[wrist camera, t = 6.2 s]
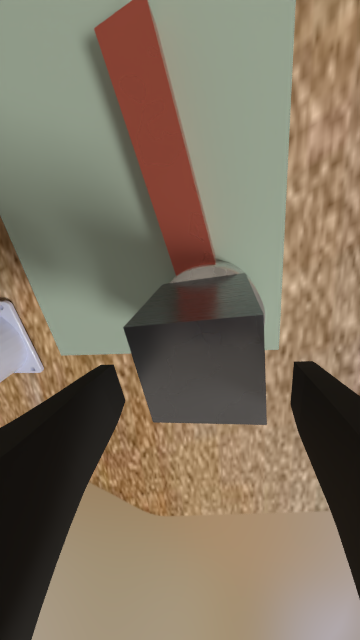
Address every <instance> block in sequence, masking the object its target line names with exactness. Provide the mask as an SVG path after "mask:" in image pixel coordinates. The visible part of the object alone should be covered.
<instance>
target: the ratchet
mask: <svg viewBox="0 0 360 640" xmlns="http://www.w3.org/2000/svg"><path fill="white" fill-rule="evenodd" d="M94 31H95V34H96V37H97V40H98V43H99V46H100V49H101V52H102V55H103V58H104V61H105V64H106V67H107V70H108V73H109V76H110V79H111V82H112V85H113V88H114V91H115V94H116V97H117V100H118V103H119V106H120V109H121V112H122V115H123V118H124V121H125V124H126V127H127V130H128V133H129V136H130V139H131V142H132V145H133V148H134V151H135V154H136V157H137V160H138V163H139V166H140V169H141V172H142V175H143V178H144V181H145V184H146V187H147V190H148V193H149V196H150V199H151V202H152V205H153V208H154V211H155V214H156V217H157V220H158V223H159V226H160V229H161V232H162V235H163V238H164V241H165V244H166V247H167V250H168V253H169V256H170V259H171V262H172V265H173V268H174V271H175V274H176V276H175V277H174V278H173V279H172V281H171V282H170V283H175V282H182V281H190V280H197V279H204V278H212V277H219V276H226V275H234V274H241V273H245V272H244V271H243V270H242V269H240V268H239V267H237V266H235V265H233V264H231V263H229V262H225V261H221V260H216V257H215V253H214V249H213V245H212V241H211V237H210V233H209V229H208V225H207V221H206V217H205V213H204V210H203V206H202V202H201V198H200V194H199V190H198V186H197V182H196V178H195V174H194V170H193V166H192V163H191V159H190V155H189V151H188V147H187V143H186V139H185V135H184V131H183V127H182V123H181V119H180V116H179V112H178V108H177V104H176V100H175V96H174V92H173V88H172V84H171V80H170V76H169V72H168V69H167V65H166V61H165V57H164V53H163V49H162V45H161V41H160V37H159V33H158V29H157V25H156V22H155V20H154V17H153V14H152V11H151V8H150V5H149V2H148V0H132V1H130V2H129V3H128V4H126V5H125V6H124V7H122V8H121V9H119V10H118V11H117V12H115V13H114V14H113V15H111V16H110V17H109V18H107V19H106V20H105V21H103V22H102V23H101V24H99V25H98V26H96V27H95V28H94ZM246 275H247V274H246ZM247 278H248V280H249V282H250V285H251V287H252V289H253V291H254V294H255V296H256V298H257V301H258V303H259V305H260V307H261V310H262V312H263V314H264V325H265V309H264V305H263V302H262V300H261V297H260V295H259V293H258V291H257V289H256V287H255V285H254V283H253V282H252V280H251V278H250V277H249V276H248V275H247Z"/></svg>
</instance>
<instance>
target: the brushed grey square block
mask: <svg viewBox="0 0 360 640" xmlns="http://www.w3.org/2000/svg"><path fill="white" fill-rule="evenodd" d="M123 329H124V332H125V335H126V338H127V341H128V344H129V348H130V351H131V354H132V357H133V360H134V363H135V366H136V370H137V373H138V376H139V379H140V382H141V385H142V388H143V392H144V395H145V398H146V401H147V404H148V407H149V410H150V414H151V417H152V420H153V422H164V423H209V424H253V425H267V419H266V382H265V344H264V314H263V312H262V310H261V307H260V305H259V303H258V301H257V298H256V296H255V294H254V291H253V289H252V287H251V285H250V282H249V280H248V278H247V275H246V273H241V274H234V275H226V276H219V277H212V278H204V279H197V280H190V281H182V282H175V283H167V284H162V285H161V286H160V287H159V289H158V290H157V291H156V292H155V293H154V294H153V295H152V296H151V297H150V298H149V300H148V301H147V302H146V303H145V304H144V305H143V306H142V307H141V308H140V309H139V311H138V312H137V313H136V314H135V315H134V316H133V317H132V318H131V319H130V320H129V322H128V323H127V324H126V325H125V326H124V327H123Z"/></svg>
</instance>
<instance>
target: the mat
mask: <svg viewBox="0 0 360 640" xmlns="http://www.w3.org/2000/svg"><path fill="white" fill-rule="evenodd" d="M130 1H132V0H0V216H1V218H2V221H3V223H4V225H5V227H6V230H7V232H8V234H9V237H10V239H11V241H12V243H13V246H14V248H15V250H16V253H17V255H18V257H19V259H20V262H21V264H22V266H23V269H24V271H25V273H26V276H27V278H28V280H29V282H30V285H31V287H32V289H33V292H34V294H35V296H36V298H37V301H38V303H39V305H40V308H41V310H42V312H43V314H44V317H45V319H46V321H47V324H48V326H49V328H50V330H51V333H52V335H53V337H54V340H55V342H56V344H57V346H58V349H59V351H60V353H61V355H91V354H130V353H131V351H130V348H129V344H128V341H127V338H126V335H125V332H124V329H123V327H124V326H125V325H126V324H127V323H128V322H129V320H130V319H131V318H132V317H133V316H134V315H135V314H136V313H137V312H138V311H139V309H140V308H141V307H142V306H143V305H144V304H145V303H146V302H147V301H148V300H149V298H150V297H151V296H152V295H153V294H154V293H155V292H156V291H157V290H158V289H159V287H160V286H161V285H162V284H167V283H170V282H171V281H172V279H173V278H174V277H175V276H176V274H175V271H174V268H173V265H172V262H171V259H170V256H169V253H168V250H167V247H166V244H165V241H164V238H163V235H162V232H161V229H160V226H159V223H158V220H157V217H156V214H155V211H154V208H153V205H152V202H151V199H150V196H149V193H148V190H147V187H146V184H145V181H144V178H143V175H142V172H141V169H140V166H139V163H138V160H137V157H136V154H135V151H134V148H133V145H132V142H131V139H130V136H129V133H128V130H127V127H126V124H125V121H124V118H123V115H122V112H121V109H120V106H119V103H118V100H117V97H116V94H115V91H114V88H113V85H112V82H111V79H110V76H109V73H108V70H107V67H106V64H105V61H104V58H103V55H102V52H101V49H100V46H99V43H98V40H97V37H96V34H95V31H94V28H95V27H96V26H98V25H99V24H101V23H102V22H103V21H105V20H106V19H107V18H109V17H110V16H111V15H113V14H114V13H115V12H117V11H118V10H119V9H121V8H122V7H124V6H125V5H126V4H128V3H129V2H130ZM148 2H149V5H150V8H151V11H152V14H153V17H154V20H155V22H156V25H157V29H158V33H159V37H160V41H161V45H162V49H163V53H164V57H165V61H166V65H167V69H168V72H169V76H170V80H171V84H172V88H173V92H174V96H175V100H176V104H177V108H178V112H179V116H180V119H181V123H182V127H183V131H184V135H185V139H186V143H187V147H188V151H189V155H190V159H191V163H192V166H193V170H194V174H195V178H196V182H197V186H198V190H199V194H200V198H201V202H202V206H203V210H204V213H205V217H206V221H207V225H208V229H209V233H210V237H211V241H212V245H213V249H214V253H215V257H216V260H221V261H225V262H229V263H231V264H233V265H235V266H237V267H239V268H240V269H242V270H243V271H244V272H245V273H246V274H247V275H248V276H249V277H250V278H251V280H252V282H253V283H254V285H255V287H256V289H257V291H258V293H259V295H260V297H261V300H262V302H263V305H264V309H265V325H264V344H265V350H279V335H280V314H281V293H282V272H283V252H284V231H285V210H286V190H287V169H288V148H289V127H290V107H291V86H292V65H293V45H294V24H295V3H296V0H148Z"/></svg>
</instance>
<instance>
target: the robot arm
mask: <svg viewBox="0 0 360 640" xmlns="http://www.w3.org/2000/svg"><path fill="white" fill-rule="evenodd" d="M43 370H44V368H43V365H42V363H41V361H40V359H39V357H38V355H37V353H36V351H35V349H34V347H33V345H32V343H31V341H30V339H29V337H28V335H27V333H26V331H25V328H24V326H23V324H22V322H21V320H20V318H19V316H18V314H17V312H16V310H15V308H14V306H13V304H12V303H11V302H10V301H7V300H5V301H0V382H1V381H3V380H4V379H5V378H7V377H8V376H10V375H11V374H12V373H40V372H42V371H43ZM124 403H125V398H124V395H123V392H122V389H121V386H120V383H119V380H118V377H117V374H116V370H115V367H114V365H100V366H98V367H97V368H95V369H93V370H92V371H90V372H88V373H87V374H85V375H84V376H82V377H81V378H79V379H78V380H76V381H75V382H73V383H72V384H70V385H69V386H67V387H66V388H64V389H63V390H61V391H60V392H58V393H57V394H55V395H54V396H52V397H50V398H49V399H47V400H46V401H44V402H42V403H41V404H39V405H38V406H36V407H34V408H33V409H31V410H30V411H28V412H26V413H25V414H23V415H22V416H20V417H18V418H17V419H15V420H13V421H12V422H10V423H8V424H6V425H5V426H3V427H1V428H0V640H31V639H32V636H33V633H34V629H35V626H36V623H37V620H38V617H39V613H40V610H41V607H42V604H43V602H44V599H45V596H46V593H47V590H48V587H49V584H50V581H51V578H52V575H53V572H54V569H55V566H56V563H57V561H58V558H59V555H60V553H61V550H62V547H63V544H64V542H65V539H66V536H67V534H68V531H69V528H70V526H71V523H72V520H73V518H74V516H75V513H76V511H77V508H78V506H79V503H80V501H81V498H82V496H83V493H84V491H85V489H86V487H87V484H88V482H89V480H90V478H91V476H92V474H93V472H94V470H95V468H96V466H97V464H98V462H99V460H100V458H101V456H102V454H103V452H104V450H105V448H106V446H107V444H108V442H109V440H110V438H111V436H112V434H113V432H114V430H115V427H116V425H117V423H118V420H119V418H120V415H121V412H122V409H123V406H124ZM291 408H292V411H293V415H294V419H295V422H296V425H297V429H298V432H299V435H300V437H301V440H302V442H303V445H304V447H305V449H306V452H307V454H308V457H309V459H310V462H311V464H312V466H313V469H314V471H315V474H316V476H317V479H318V481H319V483H320V486H321V488H322V491H323V493H324V495H325V498H326V500H327V503H328V505H329V508H330V510H331V513H332V515H333V518H334V521H335V523H336V526H337V529H338V532H339V535H340V538H341V542H342V545H343V548H344V551H345V554H346V557H347V560H348V563H349V566H350V569H351V572H352V576H353V579H354V582H355V585H356V589H357V592H358V595H359V598H360V396H359V395H357V394H356V393H355V392H353V391H352V390H351V389H349V388H348V387H347V386H345V385H344V384H343V383H341V382H340V381H339V380H337V379H336V378H335V377H333V376H332V375H331V374H329V373H328V372H327V371H325V370H324V369H323V368H321V367H320V366H319V365H317V364H316V363H314V362H313V361H304V362H294V369H293V381H292V393H291Z"/></svg>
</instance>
